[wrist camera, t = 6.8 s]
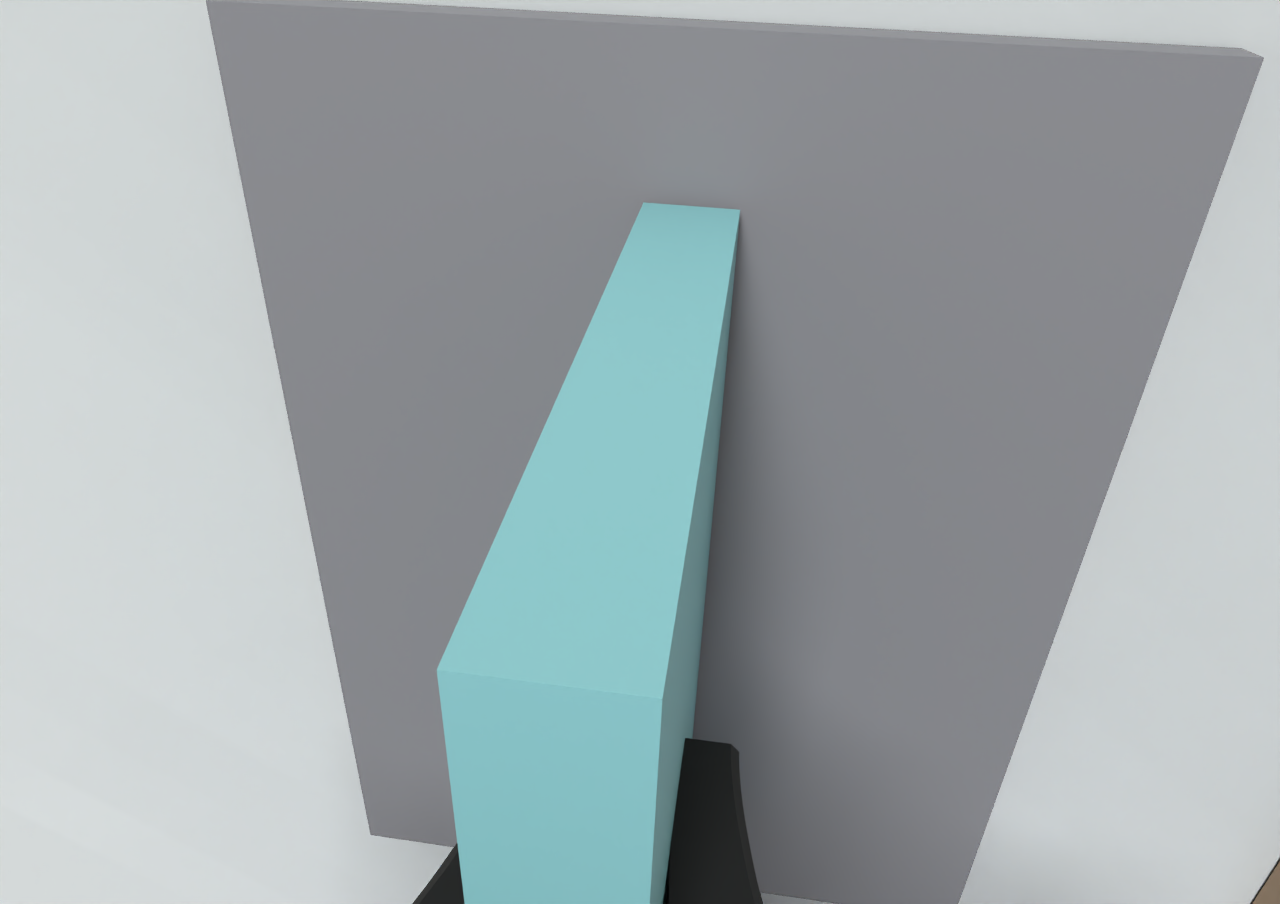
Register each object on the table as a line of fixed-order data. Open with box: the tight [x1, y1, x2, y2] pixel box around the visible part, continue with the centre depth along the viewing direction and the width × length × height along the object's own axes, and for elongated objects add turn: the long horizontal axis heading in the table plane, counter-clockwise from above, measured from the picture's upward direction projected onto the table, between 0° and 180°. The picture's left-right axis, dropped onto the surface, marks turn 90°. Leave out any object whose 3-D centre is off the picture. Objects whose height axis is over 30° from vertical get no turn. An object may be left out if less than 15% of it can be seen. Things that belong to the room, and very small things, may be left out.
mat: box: [206, 0, 1264, 904], centre depth 15 cm, size 16×12×1 cm
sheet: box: [437, 202, 740, 904], centre depth 11 cm, size 12×1×8 cm, turn 178°
